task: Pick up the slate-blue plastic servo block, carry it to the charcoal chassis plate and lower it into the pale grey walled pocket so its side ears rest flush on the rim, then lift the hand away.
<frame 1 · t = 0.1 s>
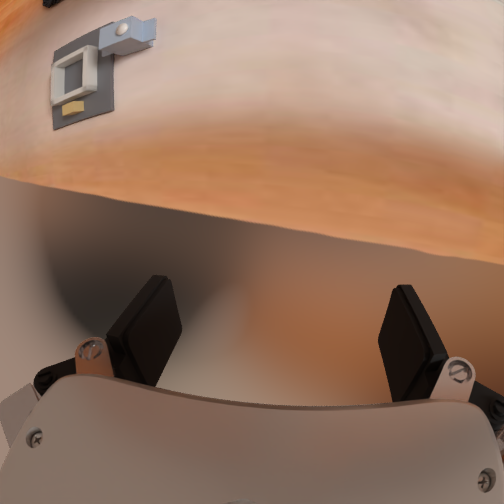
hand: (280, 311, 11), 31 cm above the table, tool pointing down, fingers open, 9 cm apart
chassis: (81, 76, 34), on the table
servo: (137, 41, 31), on the table
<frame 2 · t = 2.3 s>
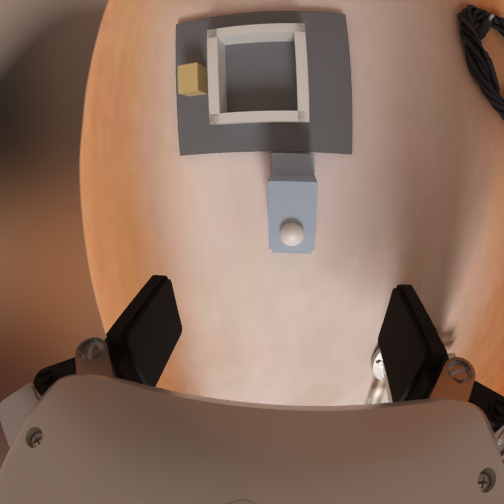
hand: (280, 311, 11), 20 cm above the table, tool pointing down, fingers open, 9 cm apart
cable: (495, 65, 16), on the table
chassis: (261, 78, 23), on the table
servo: (293, 196, 29), on the table
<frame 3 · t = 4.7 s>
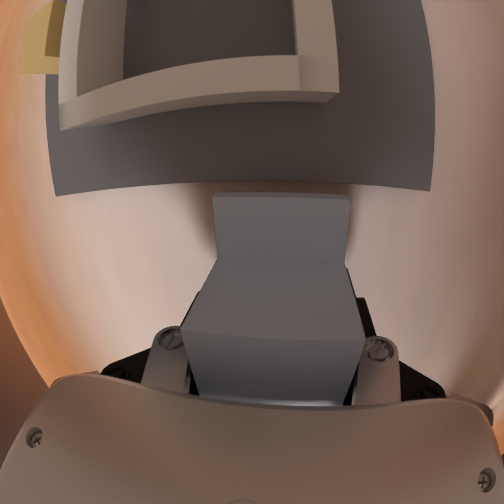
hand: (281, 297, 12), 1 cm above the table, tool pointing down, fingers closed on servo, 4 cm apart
chassis: (207, 7, 8), on the table
servo: (283, 280, 13), on the table, touching gripper
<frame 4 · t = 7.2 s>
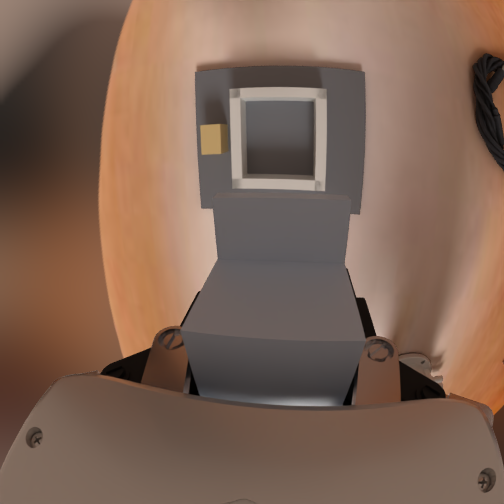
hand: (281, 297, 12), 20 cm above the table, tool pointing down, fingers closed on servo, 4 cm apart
cable: (502, 116, 19), on the table
chassis: (280, 137, 27), on the table
servo: (283, 280, 13), point 19 cm above the table, touching gripper
when the fingers open (4 cm above the table, at t = 10.1 s): servo drops 2 cm, resting on chassis.
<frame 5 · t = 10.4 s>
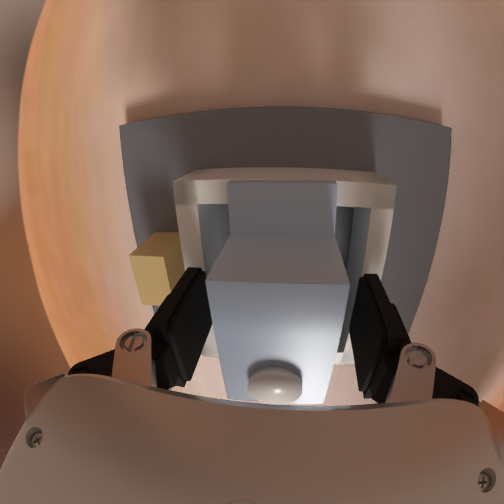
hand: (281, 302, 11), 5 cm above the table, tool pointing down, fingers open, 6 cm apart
chassis: (285, 251, 16), on the table
servo: (285, 260, 15), point 1 cm above the table, touching chassis
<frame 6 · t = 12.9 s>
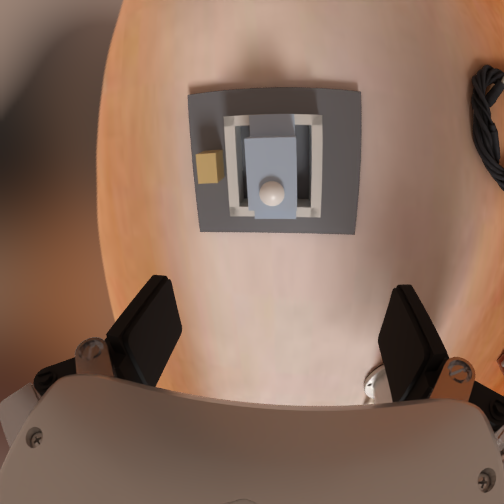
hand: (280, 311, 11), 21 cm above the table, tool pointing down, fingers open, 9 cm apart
cable: (499, 128, 20), on the table
chassis: (276, 160, 28), on the table
servo: (275, 162, 27), point 1 cm above the table, touching chassis
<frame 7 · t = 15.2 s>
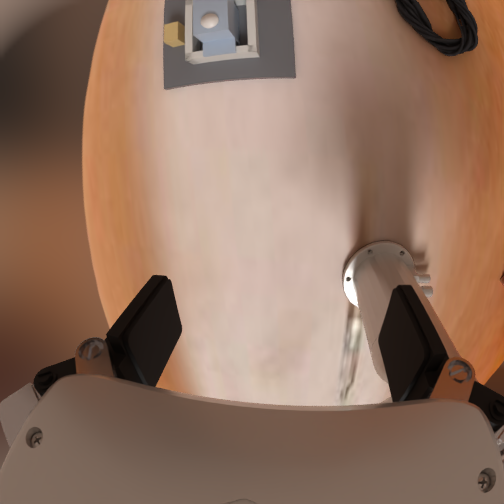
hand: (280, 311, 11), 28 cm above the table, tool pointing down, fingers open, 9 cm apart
cable: (429, 11, 20), on the table
chassis: (226, 31, 27), on the table
servo: (224, 29, 26), point 1 cm above the table, touching chassis
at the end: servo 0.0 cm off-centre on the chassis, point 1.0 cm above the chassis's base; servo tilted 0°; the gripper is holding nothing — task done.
